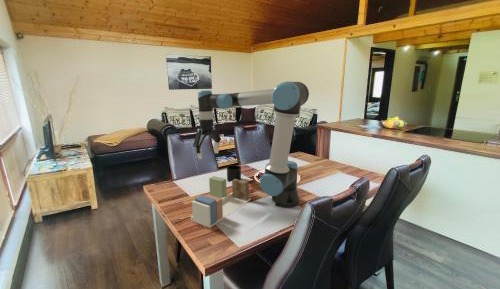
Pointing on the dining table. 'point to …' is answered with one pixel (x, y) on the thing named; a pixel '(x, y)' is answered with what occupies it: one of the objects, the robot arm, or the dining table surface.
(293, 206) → the robot arm
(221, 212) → the book rust
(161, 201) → the dining table surface
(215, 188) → the book olive
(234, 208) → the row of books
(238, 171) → the mug
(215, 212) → the book navy
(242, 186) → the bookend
